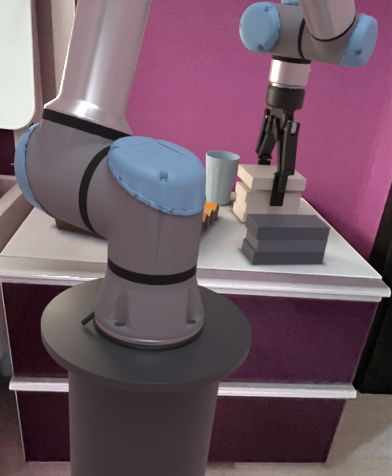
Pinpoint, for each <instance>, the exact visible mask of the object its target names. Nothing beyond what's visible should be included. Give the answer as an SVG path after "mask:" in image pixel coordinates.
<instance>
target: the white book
mask: <svg viewBox="0 0 392 476" xmlns="http://www.w3.org/2000/svg"><path fill="white" fill-rule="evenodd" d="M275 172H277V165H271V164H270V165H258V164H246V163H239V165H238V169H237V173H236V176H237V177H238V178H239V179H240V180H241V181H242V182H244V183H245V184H246V185H247V186H248V187H249V188H250V189H259V190H272V187H273V181H274V173H275ZM307 181H308V179H307V178H306V177H305V176H303V175H302V174H301V173H299V172H298V171H297V170H296V169H295V173H294V175H293V176H288V180H287V185H286V190H296V191H299V192H302V191H303V192H305V190H306V186H307Z"/></svg>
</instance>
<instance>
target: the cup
mask: <svg viewBox="0 0 392 476" xmlns="http://www.w3.org/2000/svg"><path fill="white" fill-rule="evenodd" d="M240 162H241V156H240V155H239V154H237V153H234V152H230V151H226V150H208V151H206V152H205V171H206V201H207V202H212V203H217V204H218V206H223V205H228V204H229V203H230V200H231V196H232V193H233V190H234V189H233V188H234V184H235V181H236V176H237V174H238V167H239V164H240Z"/></svg>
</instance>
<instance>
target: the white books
mask: <svg viewBox="0 0 392 476" xmlns="http://www.w3.org/2000/svg"><path fill="white" fill-rule="evenodd" d="M234 192H235V193H236V197H235V201H233V208H232V212H233V213H234V214H235V216H236V217H237V218H238V219H239V221H240V222H242V223H245V222H246V216H247V214H292V215H299V210H300V205H301V198H302V192H301V191H296V190H285V196H284V201H283V206H270V205H269V203H270V198H271V192H272V190H259V189H250V188H249V187H248V186H247V185H246V184H245V183H244V182H243V181H236V183H235V191H234Z"/></svg>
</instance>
